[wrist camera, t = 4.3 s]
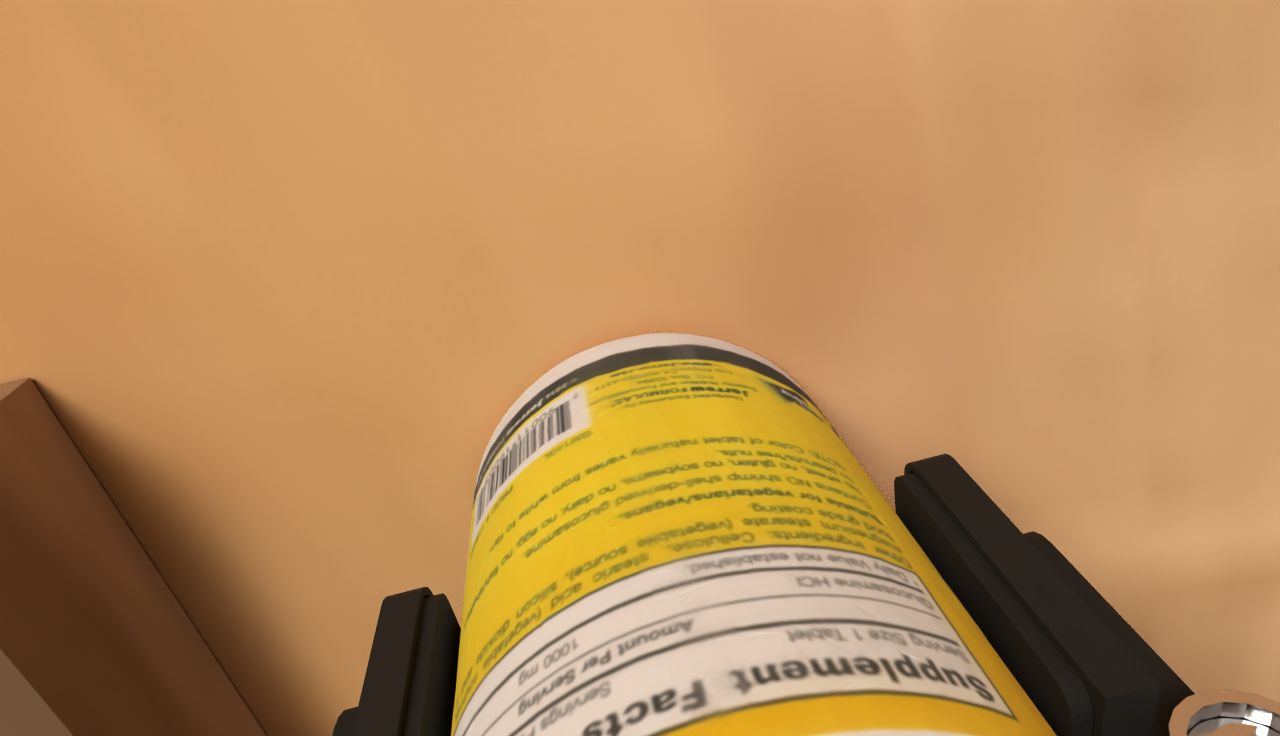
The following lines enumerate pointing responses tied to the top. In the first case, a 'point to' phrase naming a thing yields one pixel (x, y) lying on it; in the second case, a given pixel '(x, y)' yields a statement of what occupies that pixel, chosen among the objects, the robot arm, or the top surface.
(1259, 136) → the top surface
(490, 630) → the pill bottle
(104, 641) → the walnut base
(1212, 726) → the robot arm
